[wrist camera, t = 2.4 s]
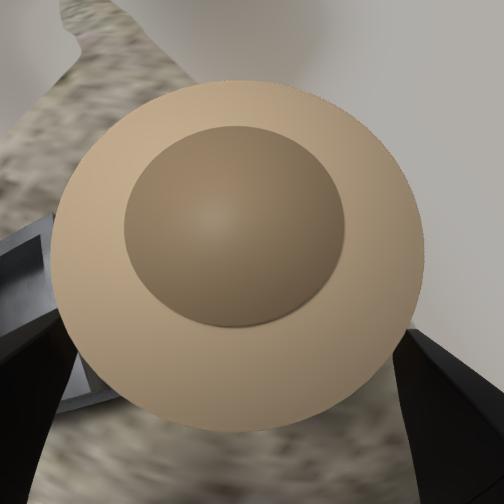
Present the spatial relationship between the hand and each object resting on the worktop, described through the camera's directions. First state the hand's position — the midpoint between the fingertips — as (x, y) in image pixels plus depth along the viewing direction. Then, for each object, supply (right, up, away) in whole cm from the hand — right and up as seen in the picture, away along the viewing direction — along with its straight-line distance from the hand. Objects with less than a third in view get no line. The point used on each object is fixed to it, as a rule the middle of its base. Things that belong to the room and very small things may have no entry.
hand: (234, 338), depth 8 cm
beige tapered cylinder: (0, -2, +9) cm, 9 cm away
